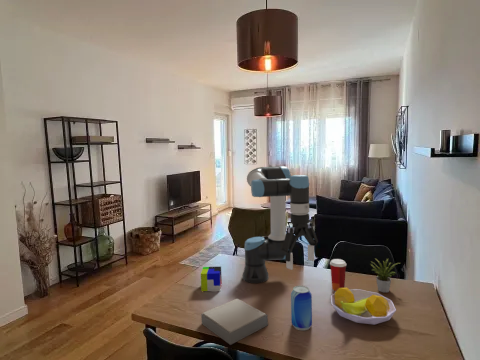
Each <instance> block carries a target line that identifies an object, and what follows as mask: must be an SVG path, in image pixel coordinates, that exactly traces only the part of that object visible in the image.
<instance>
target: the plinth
mask: <svg viewBox="0 0 480 360" xmlns="http://www.w3.org/2000/svg"><path fill="white" fill-rule="evenodd" d="M200 316H201V318H200V319H201V324H202V325H203V326H204V327H206V328H207V329H208V330H209V331H211V332H212V333H214V334H215V335H216V336H218V337H219V338H220V339H222V340H223V341H225V343H227V344H229V346H231V345H233V344H235V343H237V342H239V341H241V340H243V339H244V338H245V339H246V338H247V337H248V336H250V335H252V334H253V333H256V332H257V331H260V330H261V329H264V328H265V327H267V326H268V325H269V324H268V323H269V322H268V320H269V319H268V314H267V313H265V312H263V311H262V310H259V308H258V309H257V308H256V307H254V306H253V305H250V304H248V303H246V302H245V301H243V300H241V299H239V298H235V299H233V300H231V301H227V302H225V303H222V304H221V305H218V306H216V307H213V308H210V309H208V310H206V311H204V312H202V313H201V315H200Z"/></svg>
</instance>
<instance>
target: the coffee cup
mask: <svg viewBox="0 0 480 360" xmlns="http://www.w3.org/2000/svg"><path fill="white" fill-rule="evenodd" d="M329 266H330V274H331V288H332V291H335V292H336V291H337V289H338V288H345V287H346V286H345V283H346V268H347V263H346V261H345V260H343V259H341V258H333V259H331V260H330V261H329Z"/></svg>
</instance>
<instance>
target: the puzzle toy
mask: <svg viewBox="0 0 480 360" xmlns="http://www.w3.org/2000/svg"><path fill="white" fill-rule="evenodd" d="M221 284H222V285H223V283H222V266H221V265H220V266H202V269H201V272H200V287H201V289H200V291H220V292H221V290H222V285H221ZM220 289H221V290H220Z"/></svg>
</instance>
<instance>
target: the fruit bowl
mask: <svg viewBox="0 0 480 360" xmlns="http://www.w3.org/2000/svg"><path fill="white" fill-rule="evenodd" d="M330 300H331V301H330V304H331V306H332V307H333V308H334V310H335V311H336V312H337V314H338V315H339V316H340V317H342V318H345V319H347V320H348V321H349V320H350V321H352V322H354V323H359V324H366V325H367V324H368V325H374V326H375V325H377V324H381V323H385V322H387V321H390V320H391V318H392V317H393V315H394V314H395V313H396V311H397V309H396V307H395V305H394V302H393V300H391V299H390V298H388V297H386V296H384V295H382V294H381V293H378V292H374V291H370V290H369V291H368V290H365V289H359V288H354V289H349V287H344V288H338V289H337V291H335V292H334V293H333V294H331V295H330Z"/></svg>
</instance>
